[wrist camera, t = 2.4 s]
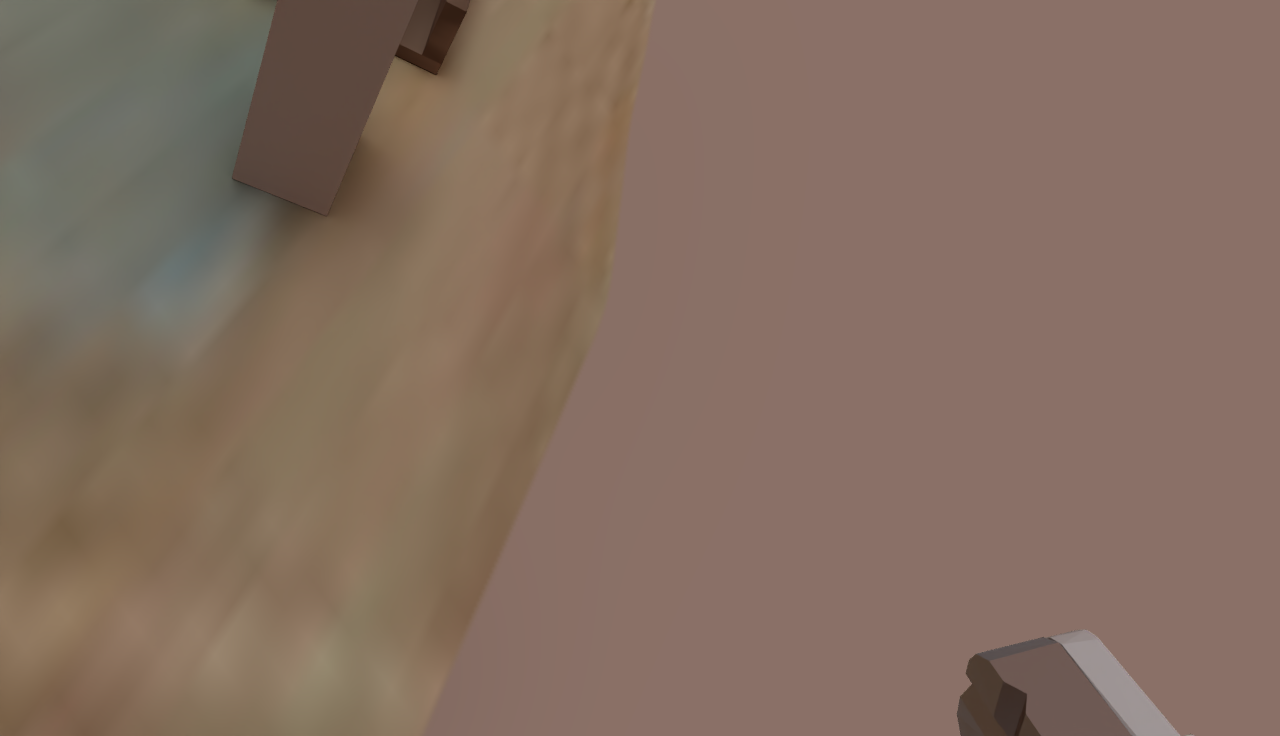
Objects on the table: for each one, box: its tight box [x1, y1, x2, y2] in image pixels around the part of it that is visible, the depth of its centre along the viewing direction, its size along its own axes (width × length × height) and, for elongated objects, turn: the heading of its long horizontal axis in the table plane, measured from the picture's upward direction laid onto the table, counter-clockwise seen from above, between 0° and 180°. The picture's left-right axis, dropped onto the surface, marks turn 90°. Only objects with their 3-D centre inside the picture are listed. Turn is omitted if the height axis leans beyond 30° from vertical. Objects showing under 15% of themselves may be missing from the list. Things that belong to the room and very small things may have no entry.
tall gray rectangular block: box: [232, 0, 418, 216], centre depth 35 cm, size 4×5×14 cm
